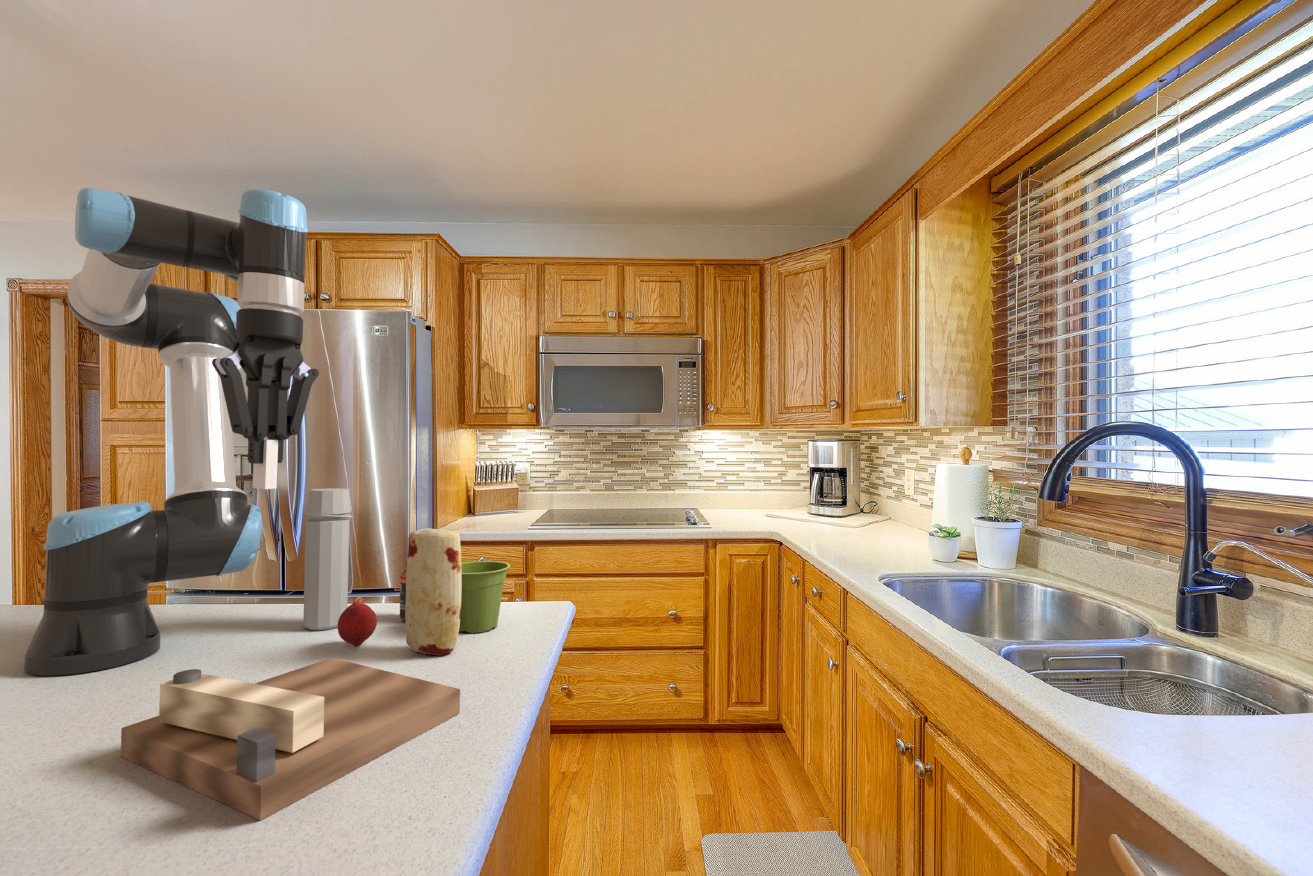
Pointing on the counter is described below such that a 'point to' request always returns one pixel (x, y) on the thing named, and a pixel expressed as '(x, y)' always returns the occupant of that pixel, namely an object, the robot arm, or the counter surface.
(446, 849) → the counter surface
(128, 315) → the robot arm
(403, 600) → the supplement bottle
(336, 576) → the water bottle
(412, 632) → the food model
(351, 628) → the onion
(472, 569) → the plant pot
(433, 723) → the brown flat square block
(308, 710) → the folding leg
